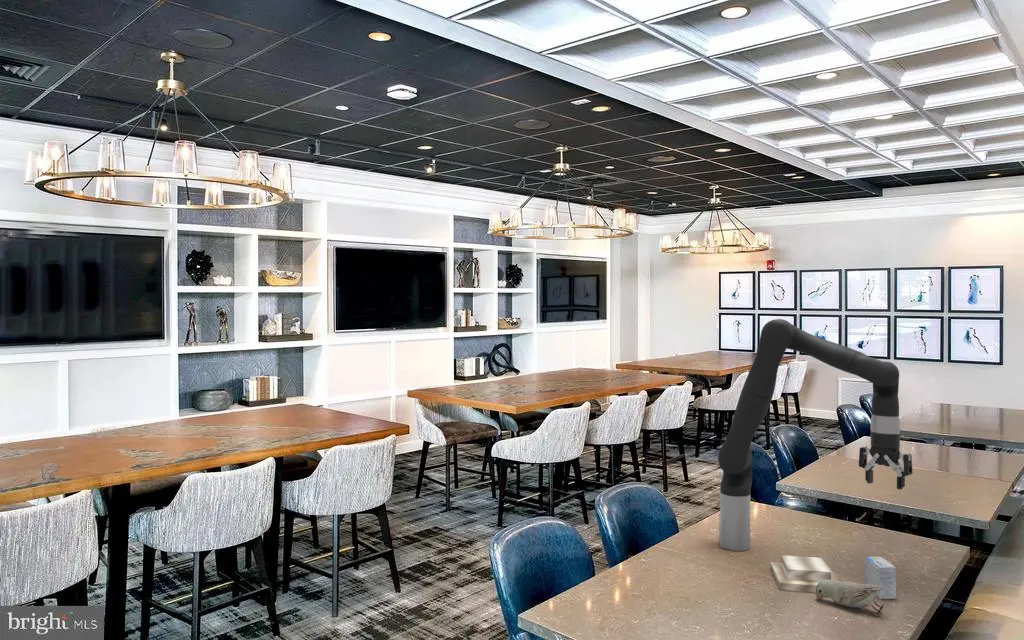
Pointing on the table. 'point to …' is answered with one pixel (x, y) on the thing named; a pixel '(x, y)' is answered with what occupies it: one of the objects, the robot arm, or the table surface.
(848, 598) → the decorative bird
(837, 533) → the table surface
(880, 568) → the medicine box
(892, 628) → the table surface
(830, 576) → the pedestal
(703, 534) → the table surface
